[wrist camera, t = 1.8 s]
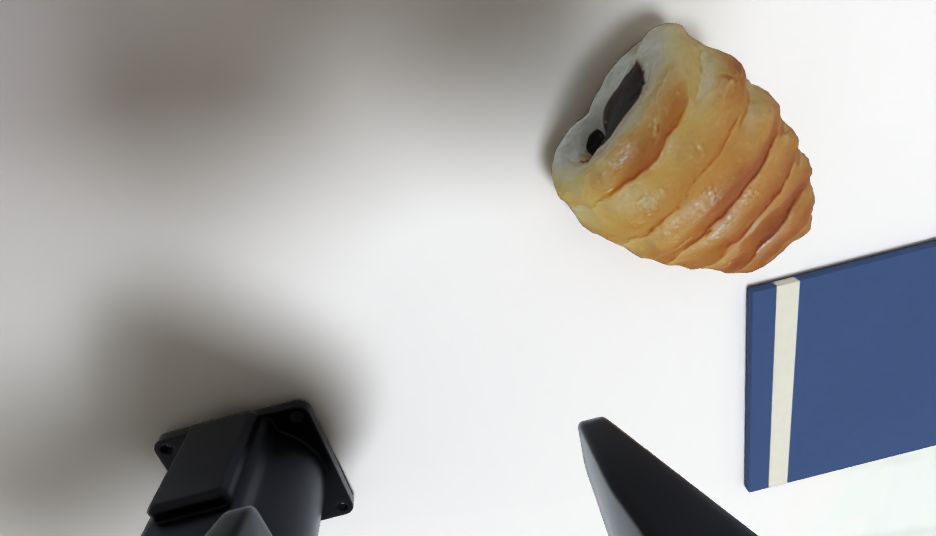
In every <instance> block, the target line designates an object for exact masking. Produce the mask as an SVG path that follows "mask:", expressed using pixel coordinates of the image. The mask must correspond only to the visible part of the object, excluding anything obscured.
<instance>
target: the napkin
mask: <svg viewBox="0 0 936 536" xmlns="http://www.w3.org/2000/svg"><path fill="white" fill-rule="evenodd" d="M934 445H936V240H935V241H931V242H927V243H924V244H920V245H916V246H912V247H908V248H904V249H900V250H896V251H892V252H888V253H884V254H880V255H876V256H872V257H869V258H865V259H861V260H857V261H853V262H849V263H845V264H841V265H837V266H833V267H829V268H825V269H821V270H817V271H813V272H810V273H806V274H802V275H798V276H794V277H790V278H786V279H782V280H778V281H774V282H770V283H766V284H762V285H758V286H755V287H751V288H748V296H747V373H746V450H745V487H746V489H747V490H748V491H749V492H753V491H757V490H761V489H765V488H770V487H774V486H778V485H782V484H786V483H788V482H792V481H796V480H800V479H804V478H808V477H812V476H816V475H820V474H824V473H828V472H832V471H836V470H840V469H844V468H848V467H852V466H855V465H859V464H863V463H867V462H871V461H875V460H879V459H883V458H887V457H891V456H895V455H899V454H903V453H907V452H911V451H915V450H919V449H922V448H926V447H930V446H934Z"/></svg>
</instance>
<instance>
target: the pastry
mask: <svg viewBox="0 0 936 536" xmlns="http://www.w3.org/2000/svg"><path fill="white" fill-rule="evenodd" d="M798 143H799V140H798V137H797V135H796V134H795V132H794V131H793V129H792V128H791V127H789V126H788V125H787V124H786V123H785V122H784V121H783V120H782V119H781V117H780V106H779V104H778V103H777V102H776V101H775V100H774V98H773V97H772V96H771V95H770V94H769V92H767V91H766V90H764V89H762V88H760V87H759V86H756V85H753V84H751V83H750V82H749V80H747V79H746V74H745V70H744V68H743V66H742V64H741V63H740V62H739V61H738V60H736V59H735V58H734V57H733V56H731V55H729V54H727V53H724V52H722V51H719V50H717V49H713V48H710V47H707V46H705V45H703V44H701V43H700V42H698V41H697V40H695V39H693V38H692V37H691V36H689V35H688V34H687V32H686V31H685V29H684V28H683V26H682V25H680V24H676V23H666V24H663V25H660V26H657V27H654V28H652V29H651V30H649V31H648V33H647V34H646V36H645V37H644V39H643V40H642V41H641V42H639V43H637V44H636V45H635V46H634V47H633V48H631V49H630V50H629V51H628V52H627V53H626V54H625V55H624V56H622V57H621V58H620V59H619V61H618V62H617V63H616V64H615V65H614V66H613V68H612V69H611V70H610V72H609V73H608V74H607V75H606V77H605V79H604V81H603V84H602V86H601V88H600V90H599V91H598V93H597V94H596V96H595V98H594V100H593V102H592V104H591V107H590V110H589V112H588V114H587V115H586V116H585V117H584V118H582V119H581V120H580V121H578V122H576V123H575V124H574V125H573V126H572V127H571V128H570V129H569V131H568V132H567V133H566V135H565V136H564V138H563V140H562V141H561V143H560V145H559V146H558V147H557V149H556V151H555V156H554V161H553V166H552V177H553V182H554V185H555V188H556V191H557V193H558V196H559V197H560V198H561V199H562V200H563V201H565V202H566V203H567V204H568V205H569V206H570V208H571V209H572V211H573V212H574V214H575V215H576V217H577V219H578V220H579V222H580V223H581V224H582V226H584V227H585V228H587V229H588V230H589V231H591V232H592V233H595V234H598V235H600V236H602V237H604V238H605V239H607V240H610V241H612V242H614V243H616V244H619V245H621V246H623V247H625V248H626V249H628V250H629V251H630V252H632V253H634V254H635V255H637V256H638V257H640V258H649V259H653V260H655V261H658V262H660V263H663V264H665V265H680V266H683V267H686V268H689V269H698V268H709V269H714V270H719V271H722V272H724V273H749V272H753V271H755V270H757V269H759V268H762V267H763V266H765V265H766V264H768V263H769V262H771V261H772V260H773V259H774V258H776V257H777V256H778V255H779V254H780V253H781V252H783V251H784V249H785V248H786V247H787V246H788V245H789V244H790V243H792V242H793V241H795V240H798V239H799V238H801V237H803V236H804V235H805V234H806V233H808V231H809V230H810V227H811V221H812V215H811V213H812V210H813V206H814V203H815V197H814V193H813V188H812V186H811V184H810V176H811V174H812V168H811V166H810V163H809V159H808V158H807V157H806V156H805V154H803V153H801V151H800V150H799V149H798Z"/></svg>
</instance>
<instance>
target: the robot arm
mask: <svg viewBox="0 0 936 536" xmlns="http://www.w3.org/2000/svg"><path fill="white" fill-rule="evenodd" d="M296 411H299V412H302V413H303V414H301V415H298V414H296V413H295V412H296ZM578 430H579V436H580V441H581V447H582V453H583V458H584V463H585V467H586V471H587V474H588V477H589V480H590V483H591V486H592V489H593V492H594V495H595V497H596V500H597V503H598V506H599V509H600V512H601V515H602V518H603V521H604V524H605V527H606V529H607V532H608V535H609V536H758V535H756V534H755V533H754V532H752V531H751V530H750V529H749V528H747V527H746V526H745V525H743V524H742V523H741V522H740V521H738V520H737V519H736V518H734V517H733V516H732V515H730V514H729V513H728V512H727V511H725V510H724V509H723V508H721V507H720V506H719V505H718V504H716V503H715V502H714V501H712V500H711V499H710V498H709V497H707V496H706V495H705V494H703V493H702V492H701V491H699V490H698V489H697V488H696V487H694V486H693V485H692V484H690V483H689V482H688V481H687V480H685V479H684V478H683V477H681V476H680V475H679V474H678V473H676V472H675V471H674V470H672V469H671V468H670V467H669V466H667V465H666V464H665V463H663V462H662V461H661V460H659V459H658V458H657V457H656V456H654V455H653V454H652V453H650V452H649V451H648V450H647V449H645V448H644V447H643V446H641V445H640V444H639V443H638V442H636V441H635V440H634V439H632V438H631V437H630V436H629V435H627V434H626V433H625V432H623V431H622V430H621V429H619V428H618V427H617V426H616V425H614V424H613V423H612V422H610V421H609V420H608V419H606V418H604V417H598V418H594V419H590V420H586V421H582V422H580V423H579V426H578ZM167 445H170V446H172V447H169V446H167ZM154 450H155V453H156V454H157V456H158V457H159V459H160V460H161V462H162V463H163V465H164V466H165V467H166V469H167V470H168V471H167V473H166V475H165V477H164V479H163V481H162V483H161V485H160V486H159V488H158V490H157V492H156V494H155V496H154V498H153V500H152V502H151V503H150V505H149V507H148V509H147V514H148V515H149V516H150V519H149V521H148V523H147V525H146V527H145V529H144V531H143V533H142V535H141V536H318V532H319V527H320V521H321V520H325V519H329V518H332V517H336V516H340V515H344V514H347V513H349V512H351V511H352V509H353V505H354V497H353V495H352V493H351V491H350V488H349V486H348V484H347V482H346V480H345V478H344V476H343V473H342V471H341V469H340V467H339V465H338V463H337V461H336V459H335V456H334V454H333V452H332V450H331V448H330V446H329V444H328V441H327V439H326V437H325V435H324V433H323V431H322V429H321V427H320V424H319V422H318V420H317V418H316V416H315V414H314V412H313V409H312V407H311V406H310V405H309V403H307V402H305V401H302V400H296V401H292V402H288V403H284V404H280V405H276V406H272V407H268V408H264V409H260V410H256V411H252V412H244V413H241V414H237V415H233V416H229V417H225V418H221V419H217V420H213V421H209V422H205V423H201V424H197V425H194V426H192V427H189V428H186V429H182V430H178V431H174V432H170V433H166V434H163V435H161V436H160V438H159V439H158V441H157V442H156V444H155V446H154ZM342 503H343V504H342Z"/></svg>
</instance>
